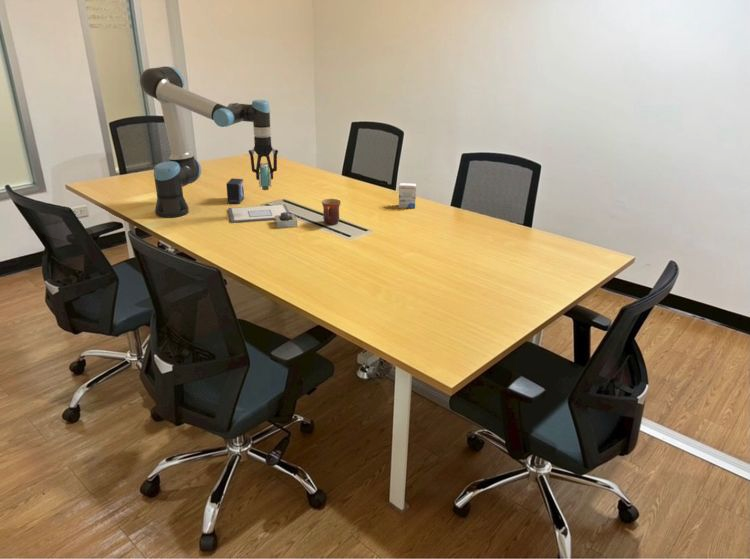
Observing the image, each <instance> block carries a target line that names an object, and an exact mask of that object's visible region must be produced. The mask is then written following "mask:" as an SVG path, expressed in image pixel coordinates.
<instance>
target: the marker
mask: <svg viewBox="0 0 750 559" xmlns="http://www.w3.org/2000/svg"><path fill="white" fill-rule="evenodd" d="M259 172H260V173H261V190H263V191H269V188H270V186H269V172H270V169H269V164H268V162H260V169H259Z"/></svg>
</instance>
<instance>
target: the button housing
mask: <svg viewBox="0 0 750 559" xmlns="http://www.w3.org/2000/svg"><path fill="white" fill-rule="evenodd" d="M290 215H291V220H281V215H276V216H275V220H274V223H275V226H276V228H277V229H282V228H283V229H286V228H297V227H298V219H297V218H296V216H295V213H294V214H293V213H290Z"/></svg>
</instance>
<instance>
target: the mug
mask: <svg viewBox="0 0 750 559" xmlns="http://www.w3.org/2000/svg"><path fill="white" fill-rule="evenodd" d="M341 203H342V201H341V200H339V199H336V198H325V199H323V200H321V204H322V208H323V212H322V214H323V215H322V216H323V217H322V220H323V222H324V223H325V224H326V225H331V226H333V225H337V224H338V223H339V222H340V206H341Z"/></svg>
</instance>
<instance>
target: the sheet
mask: <svg viewBox="0 0 750 559" xmlns="http://www.w3.org/2000/svg"><path fill="white" fill-rule="evenodd" d="M227 211H228V215H229V218H230V222H231V224H234V223H235V224H238V223H251V222H265V221H275V216H276V215H281V213H283V212H288V213H290V214H291V212H290V211H289V209H288V207H287V205H286V204H273V205H259V206H258V205H257V206H242V207H239V206H238V207H230V208H229V207H228V210H227Z"/></svg>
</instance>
